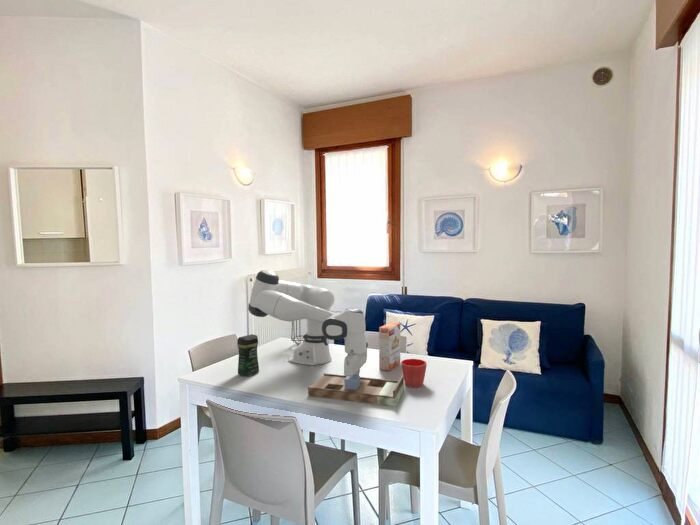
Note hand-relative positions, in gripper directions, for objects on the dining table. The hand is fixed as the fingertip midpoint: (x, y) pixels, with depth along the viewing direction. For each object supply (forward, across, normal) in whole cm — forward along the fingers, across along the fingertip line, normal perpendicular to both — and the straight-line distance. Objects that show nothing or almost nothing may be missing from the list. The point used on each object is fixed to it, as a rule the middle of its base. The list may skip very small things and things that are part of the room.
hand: (356, 379), depth 161 cm
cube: (+2, -4, 0) cm, 5 cm away
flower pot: (+5, +14, -22) cm, 26 cm away
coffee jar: (+5, +6, +56) cm, 57 cm away
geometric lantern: (+4, +59, +52) cm, 78 cm away
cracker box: (+5, +34, -7) cm, 35 cm away
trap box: (+4, -2, -1) cm, 5 cm away
